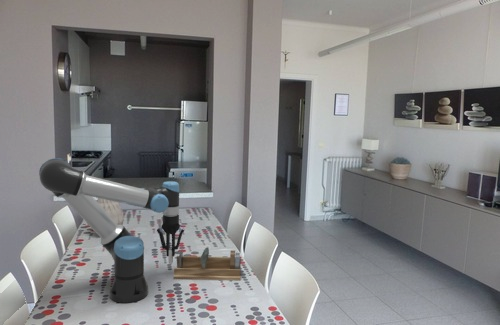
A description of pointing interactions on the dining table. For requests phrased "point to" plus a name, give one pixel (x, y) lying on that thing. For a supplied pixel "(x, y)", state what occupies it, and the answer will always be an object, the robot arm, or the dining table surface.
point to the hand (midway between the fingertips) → (170, 262)
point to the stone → (204, 257)
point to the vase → (112, 210)
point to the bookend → (181, 259)
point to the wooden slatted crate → (209, 268)
